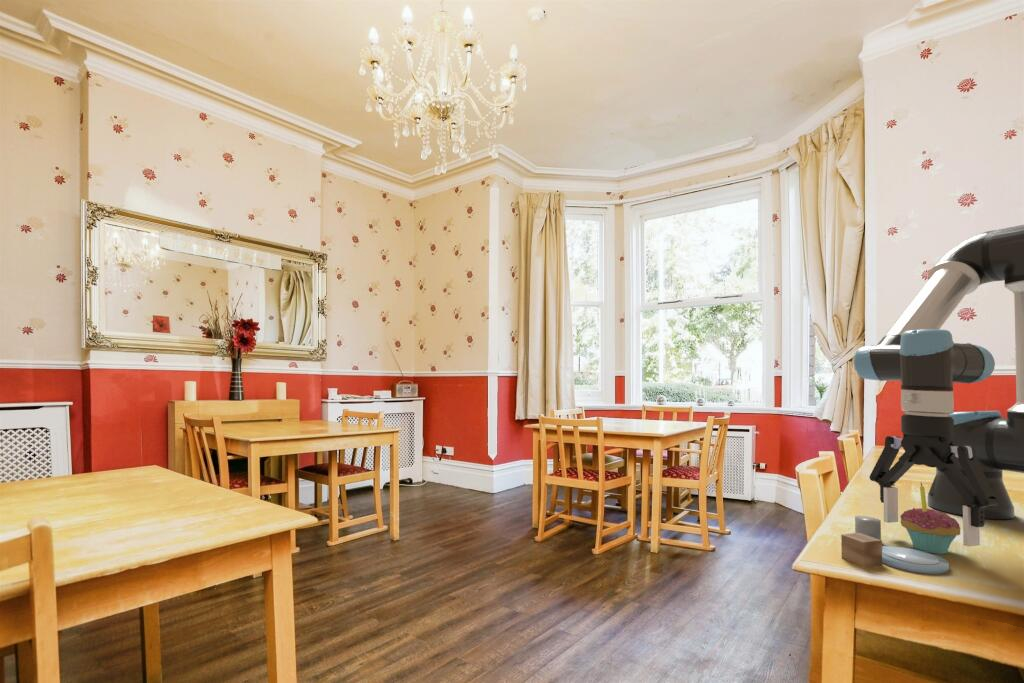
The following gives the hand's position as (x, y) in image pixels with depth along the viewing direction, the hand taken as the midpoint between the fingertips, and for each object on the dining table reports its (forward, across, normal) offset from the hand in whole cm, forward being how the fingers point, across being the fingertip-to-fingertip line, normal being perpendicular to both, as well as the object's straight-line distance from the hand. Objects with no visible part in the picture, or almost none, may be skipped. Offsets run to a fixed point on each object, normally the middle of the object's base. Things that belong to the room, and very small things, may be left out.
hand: (928, 532), depth 93 cm
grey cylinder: (+3, -6, -6) cm, 10 cm away
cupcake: (+3, 0, 0) cm, 3 cm away
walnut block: (+3, +2, -18) cm, 18 cm away
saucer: (+3, +4, -10) cm, 11 cm away
